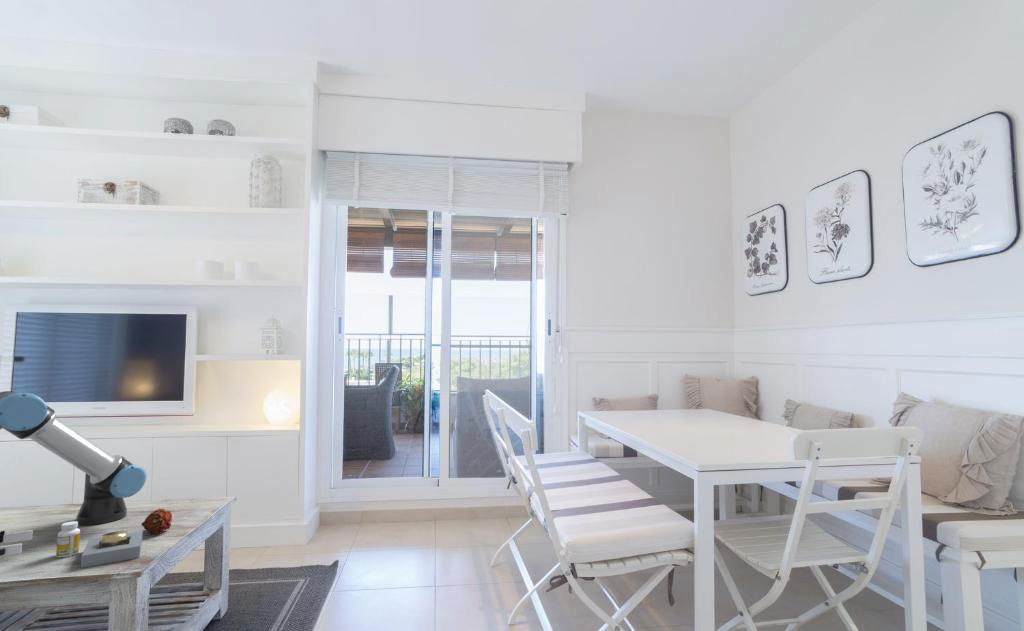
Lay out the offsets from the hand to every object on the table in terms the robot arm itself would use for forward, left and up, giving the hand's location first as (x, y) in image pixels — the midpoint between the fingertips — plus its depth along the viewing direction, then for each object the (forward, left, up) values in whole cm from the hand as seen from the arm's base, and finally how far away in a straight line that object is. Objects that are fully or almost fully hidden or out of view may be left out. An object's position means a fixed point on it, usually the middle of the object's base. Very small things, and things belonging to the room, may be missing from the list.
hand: (27, 541), depth 153 cm
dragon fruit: (-10, +33, -6) cm, 35 cm away
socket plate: (+7, +22, -6) cm, 24 cm away
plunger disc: (+7, +22, -3) cm, 23 cm away
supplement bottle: (0, +10, -6) cm, 12 cm away
